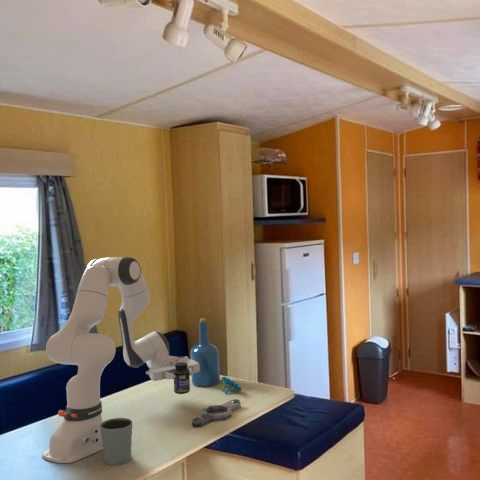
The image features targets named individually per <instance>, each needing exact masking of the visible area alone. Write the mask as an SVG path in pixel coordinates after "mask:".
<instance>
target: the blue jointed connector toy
mask: <svg viewBox="0 0 480 480" xmlns="http://www.w3.org/2000/svg"><path fill="white" fill-rule="evenodd" d="M221 381H223V382H222V388H221V389H220V391H221V392H223V391H224V390H225V388H226V390H225V392H224V394H226V395H227V394H228V393H229V391H230V390H231V389H232V388H233V389H234V390H236V391H238V392H239V391H242V389H243V388H242V387H241V386H240V385H239V384H238V383H237V382H236V383H235V381H234V380H232V379H230V378H229V377H226V376H221Z"/></svg>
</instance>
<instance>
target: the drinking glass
mask: <svg viewBox="0 0 480 480" xmlns="http://www.w3.org/2000/svg"><path fill="white" fill-rule="evenodd" d="M100 428H101V435H102V444H103V448H104V449H103V450H102V452H103V462H104V463H105V464H106V465H109V466H121V465H123V464H124V465H125V464H126V463H128V462H130V460H131V459H132V442H133V441H132V440H133V439H132V436H133V420H132V419H130V418H126V417H116V418H109V419H106V420H104V421H103V422H102V423H101V425H100Z"/></svg>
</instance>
